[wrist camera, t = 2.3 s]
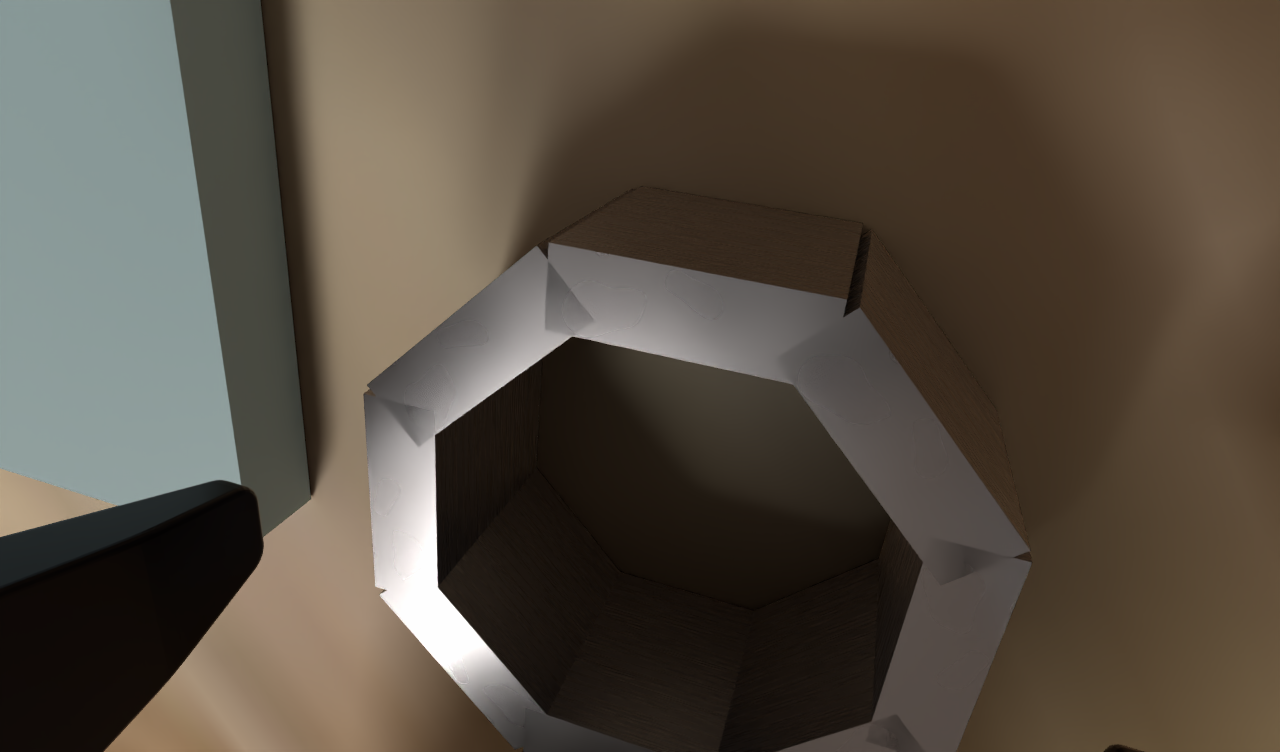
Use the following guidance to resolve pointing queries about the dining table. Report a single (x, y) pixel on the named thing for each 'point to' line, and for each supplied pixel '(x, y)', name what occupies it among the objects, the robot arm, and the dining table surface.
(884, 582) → the ring
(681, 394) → the dining table surface
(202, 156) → the piston plate
